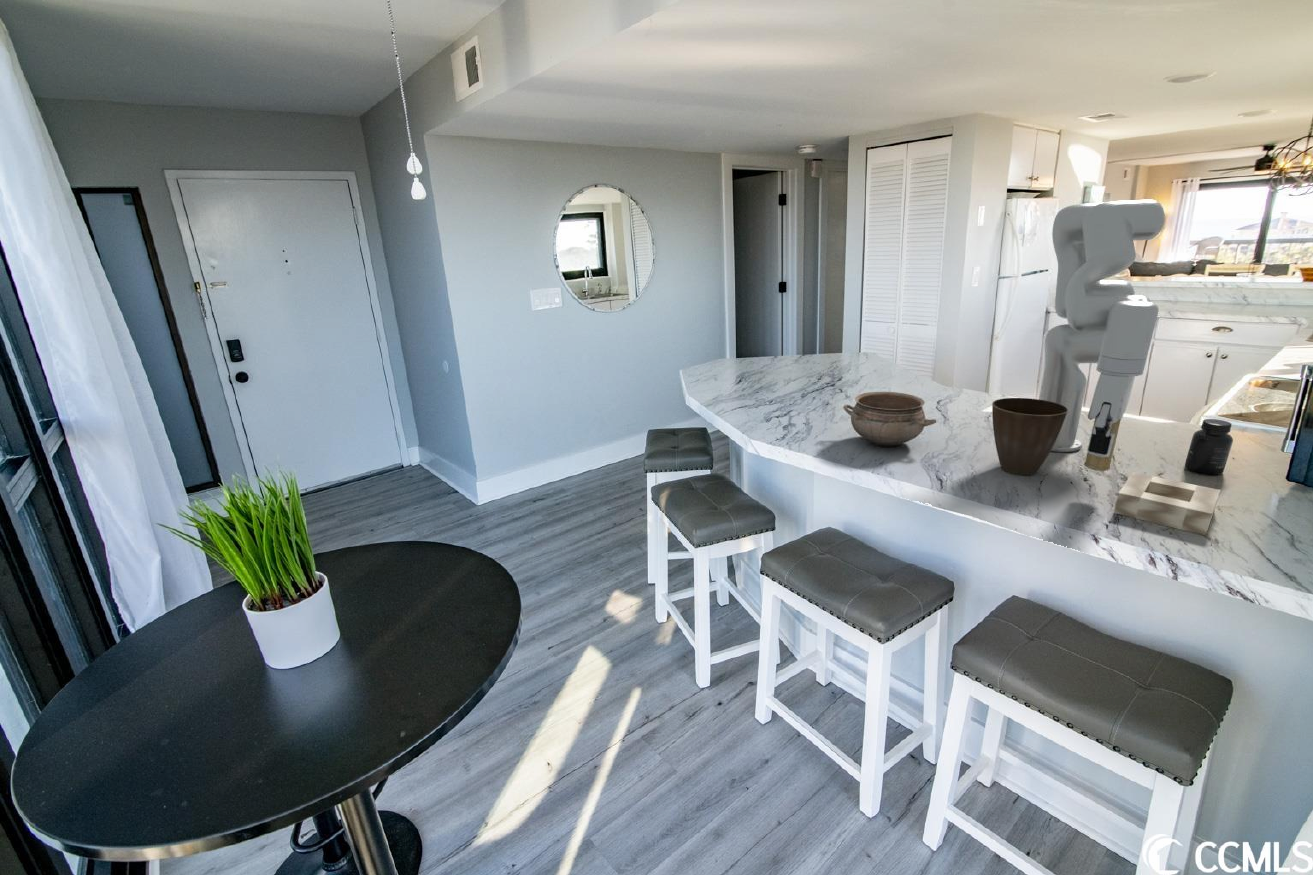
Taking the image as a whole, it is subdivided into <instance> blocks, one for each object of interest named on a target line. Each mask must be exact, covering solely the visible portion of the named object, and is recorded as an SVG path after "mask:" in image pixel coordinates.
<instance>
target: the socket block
mask: <svg viewBox="0 0 1313 875" xmlns="http://www.w3.org/2000/svg"><path fill="white" fill-rule="evenodd" d="M1220 493H1221V489H1217V488H1212V487H1209V486H1202V485H1198V484H1192V483H1187V482H1183V481H1178V480H1175V479H1174V480H1173V479H1168V478H1163V477H1158V476H1153V475H1148V474H1143V473H1138V472H1135V471H1134V472H1133V471H1132V472H1131V474H1130V476H1129V477H1128V479H1126V481H1125V482H1124V484H1123V485H1122V487H1121V489H1120V490H1119V491H1118V494H1117V498H1116V502H1115V505H1114V511H1113V514H1117V515H1121V516H1124V517H1125V516H1126V517H1129V518H1133V519H1137V520H1142V521H1146V522H1150V523H1154V524H1158V525H1161V526H1166V527H1170V528H1174V529H1179V530H1181V531H1185V532H1190V533H1193V534H1194V533H1195V534H1198V535H1202V536H1206V535H1207V533H1208V530H1209V527H1210V523H1211V521H1212V518H1213V515H1214V512H1215V510H1216V506H1217V502H1218V500H1219V496H1220Z"/></svg>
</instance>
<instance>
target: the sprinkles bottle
mask: <svg viewBox="0 0 1313 875" xmlns="http://www.w3.org/2000/svg"><path fill="white" fill-rule="evenodd" d="M1123 413H1124V412H1123ZM1123 413H1122V415H1121V417H1120V419H1119V420H1118V421H1117V422H1116V423H1113V426H1112V430H1111V433H1110V436H1111V441H1110V445H1109V449H1108V453H1107V454H1106V455H1103V454H1098V453H1094V452H1089V450H1088V449H1089V445H1090V441H1091V436H1092V433H1093V431H1094V427H1095V423H1096V420H1097V416H1098V415H1097V416H1096V417H1095V418H1094V422H1093V426H1092V429H1091V433H1090V439H1089V443H1088V447H1087V452H1086V458H1085V461H1084V462H1083V465H1084V467H1086V468H1087V469H1090V470H1093V471H1099V472H1104V471H1109V470H1110V469H1111V462H1112V457H1113V456H1114V452H1115V447H1116V444H1117V437H1118V434H1119V428H1120V424H1121V421H1122V419H1123V416H1124V414H1125V413H1124V414H1123ZM1111 418H1112V417H1111ZM1107 421H1111V419H1109V418H1107ZM1106 426H1107V428H1108V426H1109V425H1108V424H1106Z"/></svg>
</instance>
